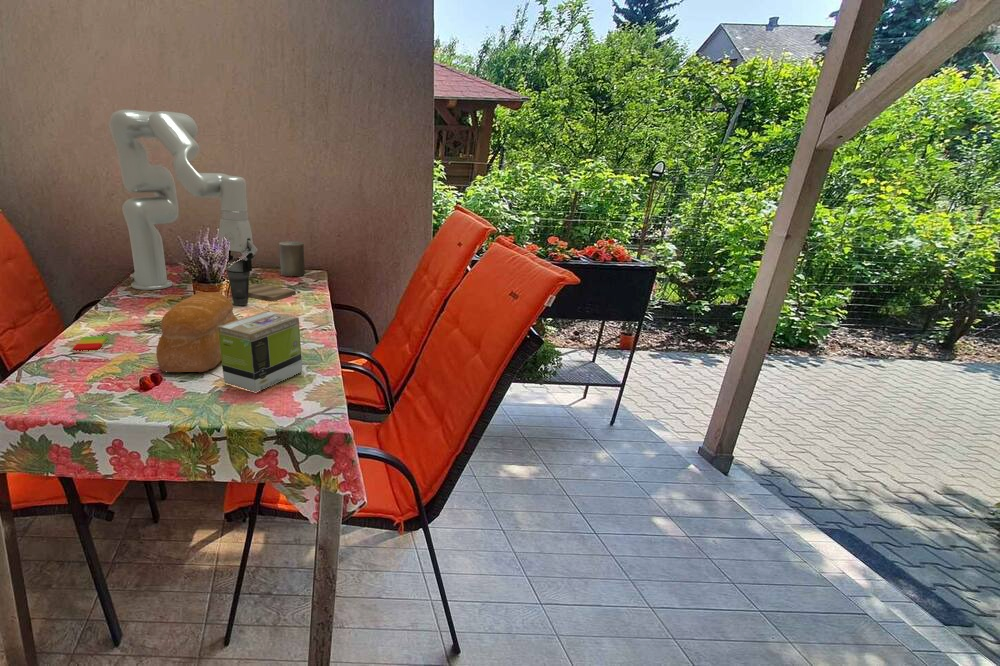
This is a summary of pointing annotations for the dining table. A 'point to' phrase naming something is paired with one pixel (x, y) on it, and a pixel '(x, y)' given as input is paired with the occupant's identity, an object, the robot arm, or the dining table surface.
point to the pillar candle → (292, 258)
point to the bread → (193, 333)
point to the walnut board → (269, 292)
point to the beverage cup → (238, 282)
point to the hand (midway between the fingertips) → (238, 269)
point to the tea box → (260, 350)
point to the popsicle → (91, 343)
